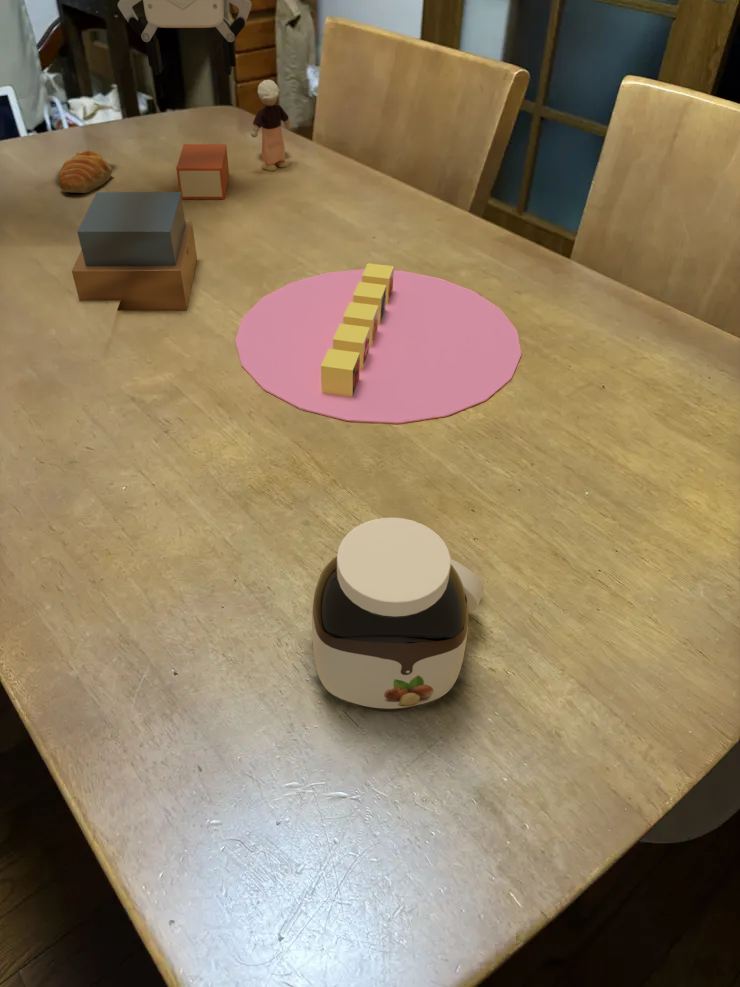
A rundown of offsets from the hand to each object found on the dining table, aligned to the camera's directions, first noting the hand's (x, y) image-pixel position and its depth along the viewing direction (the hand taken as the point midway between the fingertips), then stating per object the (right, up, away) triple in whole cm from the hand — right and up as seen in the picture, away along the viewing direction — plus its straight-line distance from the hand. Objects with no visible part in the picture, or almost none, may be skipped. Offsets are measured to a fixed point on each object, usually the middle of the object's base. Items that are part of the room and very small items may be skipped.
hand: (194, 72), depth 104 cm
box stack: (-3, -33, -12) cm, 35 cm away
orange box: (-1, -11, +11) cm, 16 cm away
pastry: (-19, -11, +10) cm, 24 cm away
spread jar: (+27, -70, -50) cm, 90 cm away
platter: (+25, -41, -20) cm, 52 cm away
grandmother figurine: (+9, -6, +17) cm, 20 cm away
